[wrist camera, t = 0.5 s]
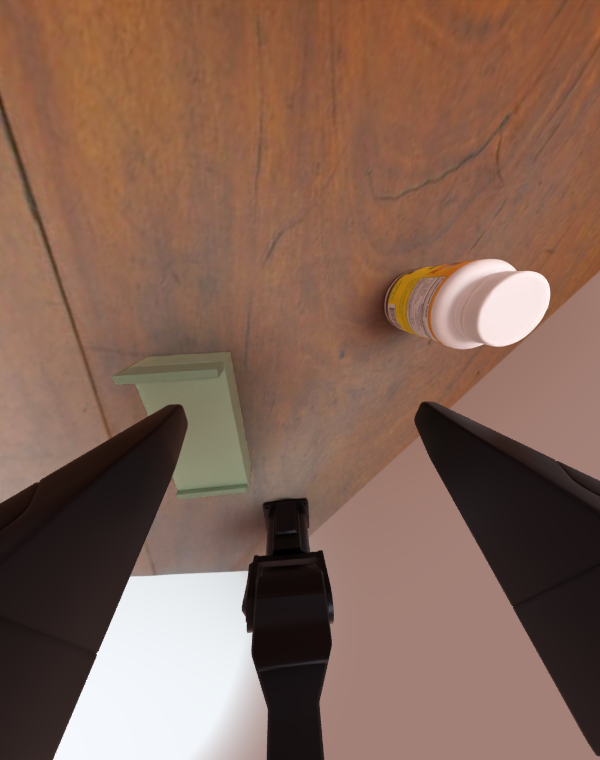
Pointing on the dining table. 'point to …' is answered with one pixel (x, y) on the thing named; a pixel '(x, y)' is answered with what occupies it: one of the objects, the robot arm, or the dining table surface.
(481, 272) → the supplement bottle
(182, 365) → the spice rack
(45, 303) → the dining table surface
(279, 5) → the dining table surface
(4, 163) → the dining table surface
